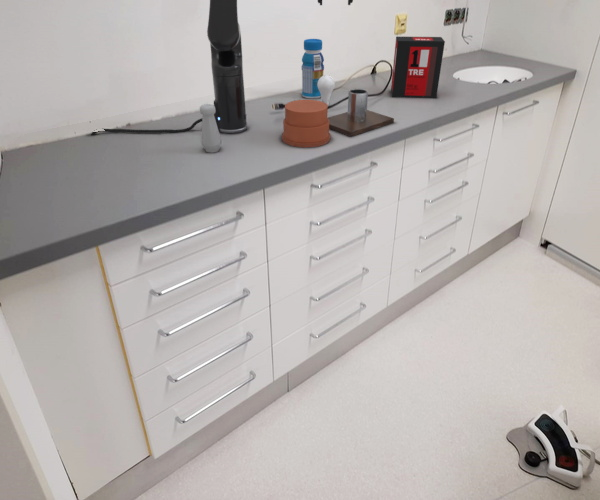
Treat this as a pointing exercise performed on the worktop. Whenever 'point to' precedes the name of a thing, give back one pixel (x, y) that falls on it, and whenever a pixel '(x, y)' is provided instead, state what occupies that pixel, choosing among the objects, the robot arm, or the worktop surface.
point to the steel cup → (357, 105)
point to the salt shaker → (209, 129)
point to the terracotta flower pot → (306, 123)
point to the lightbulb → (326, 88)
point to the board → (358, 123)
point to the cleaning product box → (417, 67)
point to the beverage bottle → (312, 68)
